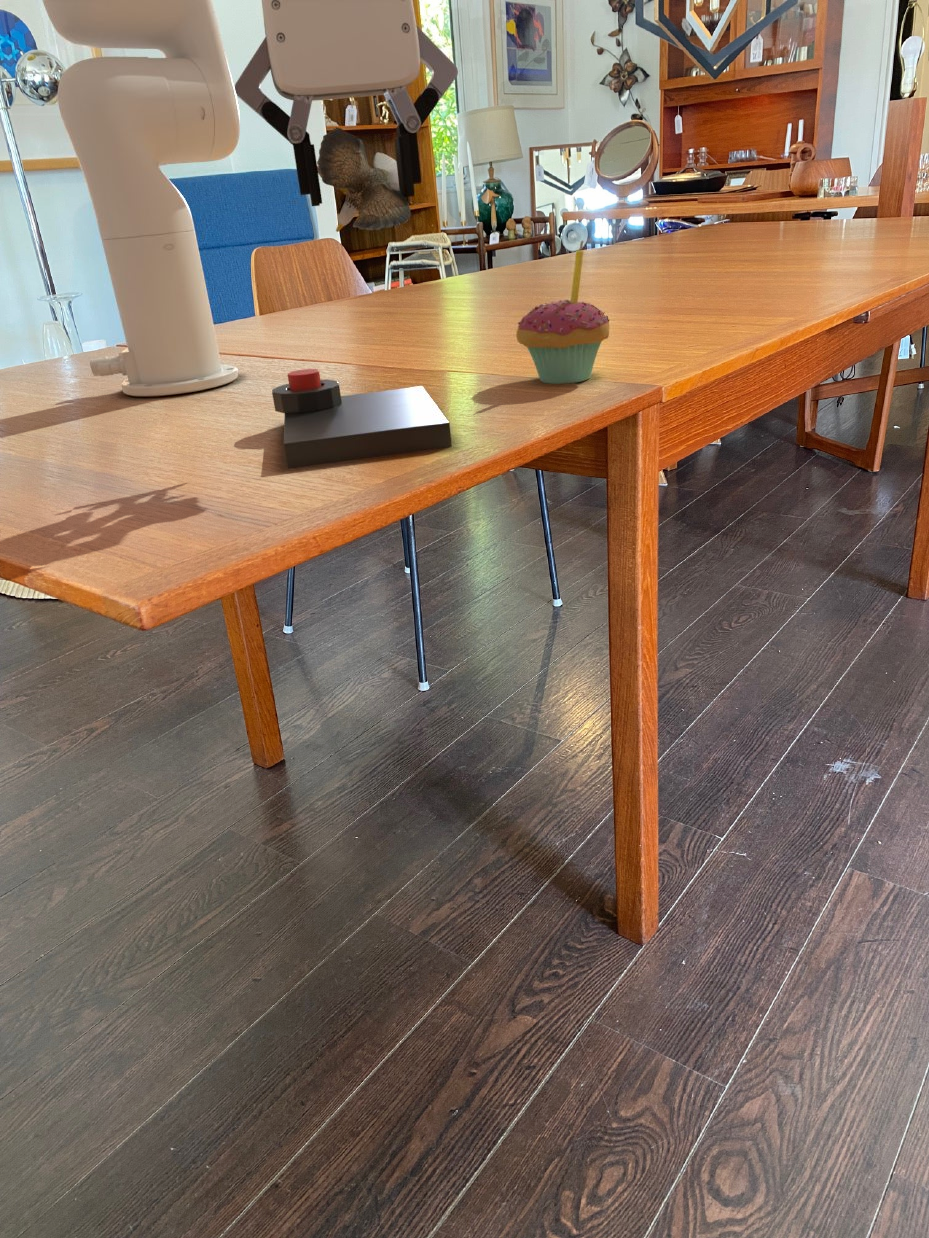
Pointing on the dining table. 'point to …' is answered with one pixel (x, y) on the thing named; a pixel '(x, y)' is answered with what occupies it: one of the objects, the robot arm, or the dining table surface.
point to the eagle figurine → (362, 183)
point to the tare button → (304, 379)
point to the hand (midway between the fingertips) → (362, 198)
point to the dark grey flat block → (357, 424)
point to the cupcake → (564, 335)
